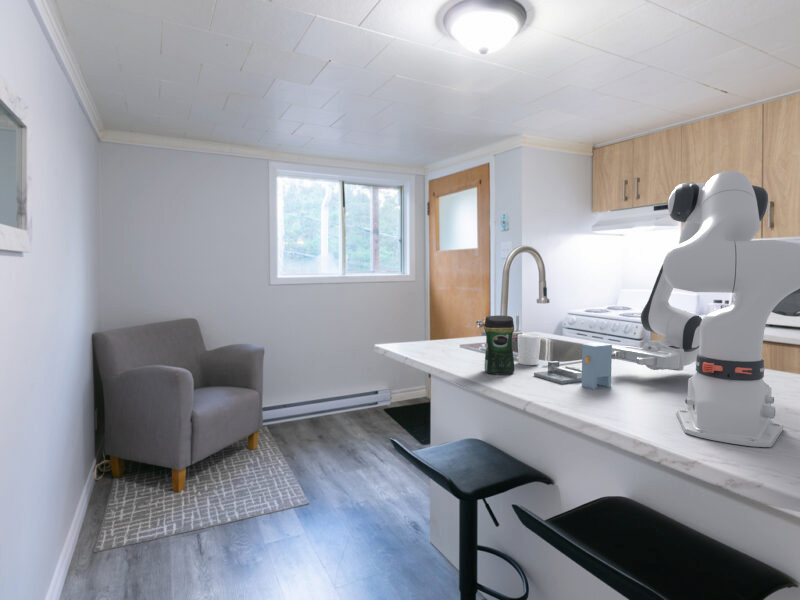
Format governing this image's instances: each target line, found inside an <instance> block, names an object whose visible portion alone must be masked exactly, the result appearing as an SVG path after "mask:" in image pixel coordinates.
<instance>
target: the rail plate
mask: <svg viewBox="0 0 800 600" xmlns="http://www.w3.org/2000/svg"><path fill="white" fill-rule="evenodd" d="M533 376H534V377H537V378H540V379H542V380H547V381H549V382H550V381H551V382H553V383H556V384H560V385H566V384H567V383H568V384H573V383H574V382H575V383H582V382H581V381H582V368H579V367H574V366H571V365H570V366H569V365H565V367H562V366H560V361H558V360H555V361H554V360H553V361H547V370H546V371H538V372H533Z"/></svg>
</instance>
